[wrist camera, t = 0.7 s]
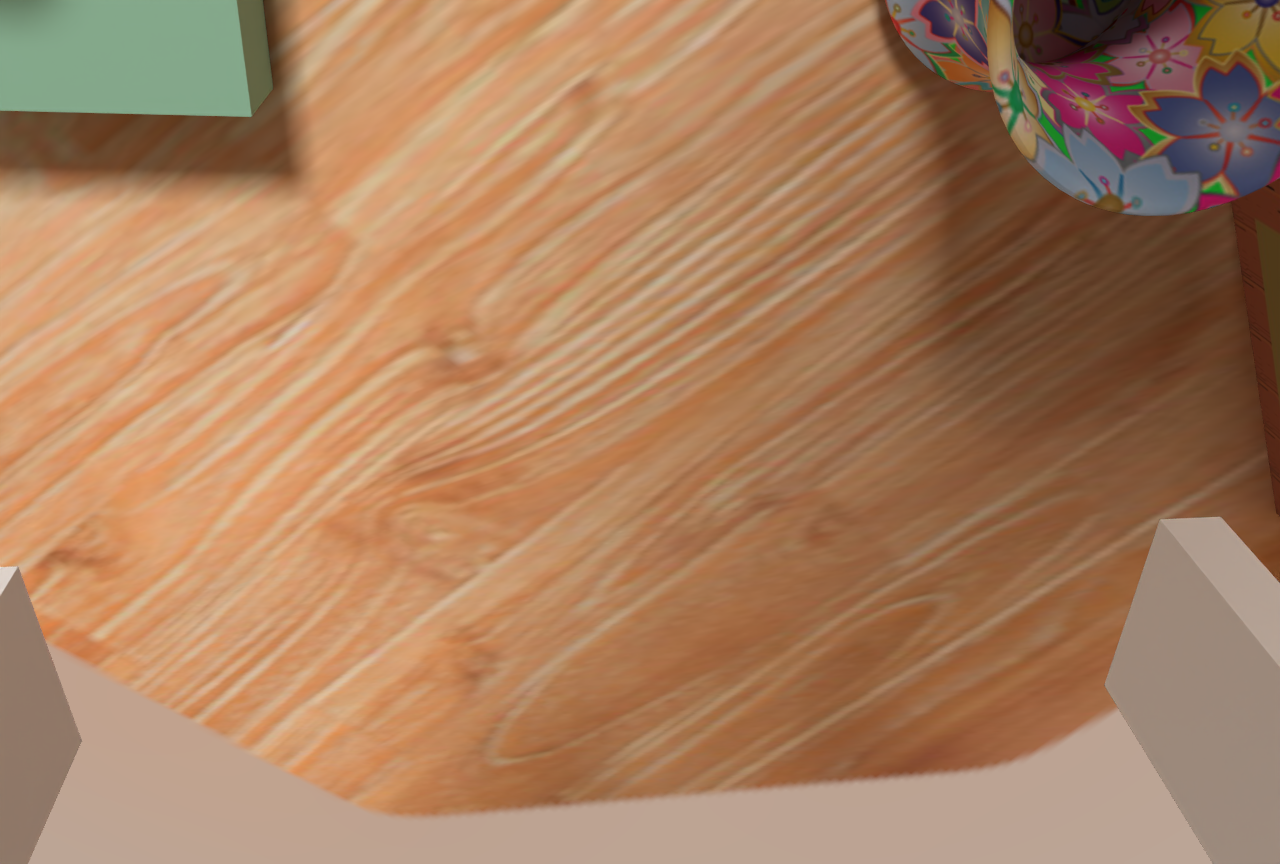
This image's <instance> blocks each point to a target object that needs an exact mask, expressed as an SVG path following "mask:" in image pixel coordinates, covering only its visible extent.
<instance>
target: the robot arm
mask: <svg viewBox="0 0 1280 864" xmlns="http://www.w3.org/2000/svg"><path fill="white" fill-rule="evenodd" d="M1104 686H1105V687H1106V689H1107V691H1108V692H1109V694H1110V696H1111V697H1112V699H1113V700H1114V702H1115V704H1116V705H1117V707H1118V709H1119V710H1120V712H1121V713H1122V715H1123V717H1124V719H1125V720H1126V722H1127V723H1128V725H1129V727H1130V728H1131V730H1132V732H1133V733H1134V735H1135V736H1136V738H1137V740H1138V741H1139V743H1140V745H1141V746H1142V748H1143V750H1144V751H1145V753H1146V755H1147V756H1148V758H1149V760H1150V761H1151V763H1152V764H1153V766H1154V768H1155V769H1156V771H1157V773H1158V774H1159V776H1160V777H1161V779H1162V781H1163V782H1164V784H1165V786H1166V787H1167V789H1168V790H1169V792H1170V794H1171V795H1172V797H1173V799H1174V801H1175V802H1176V804H1177V805H1178V807H1179V809H1180V810H1181V812H1182V814H1183V815H1184V817H1185V819H1186V820H1187V822H1188V823H1189V825H1190V827H1191V828H1192V830H1193V832H1194V833H1195V835H1196V837H1197V838H1198V840H1199V842H1200V843H1201V845H1202V846H1203V848H1204V850H1205V851H1206V853H1207V855H1208V856H1209V858H1210V859H1211V861H1212V863H1213V864H1280V583H1279V582H1278V581H1277V579H1276V578H1275V577H1274V576H1273V575H1272V574H1271V573H1270V572H1269V570H1268V569H1267V568H1266V567H1265V566H1264V565H1263V564H1262V563H1261V561H1260V560H1259V559H1258V558H1257V557H1256V556H1255V555H1254V554H1253V552H1252V551H1251V550H1250V549H1249V548H1248V547H1247V546H1246V545H1245V543H1244V542H1243V541H1242V540H1241V539H1240V538H1239V537H1238V536H1237V534H1236V533H1235V532H1234V531H1233V530H1232V529H1231V528H1230V527H1229V525H1228V524H1227V523H1226V522H1225V521H1224V520H1223V519H1222V518H1221V517H1202V518H1178V519H1160V521H1159V524H1158V527H1157V530H1156V532H1155V535H1154V538H1153V541H1152V544H1151V547H1150V550H1149V553H1148V556H1147V559H1146V562H1145V565H1144V568H1143V571H1142V574H1141V577H1140V580H1139V583H1138V586H1137V589H1136V592H1135V595H1134V598H1133V601H1132V604H1131V607H1130V610H1129V613H1128V616H1127V619H1126V622H1125V625H1124V628H1123V631H1122V634H1121V637H1120V640H1119V643H1118V646H1117V649H1116V652H1115V655H1114V658H1113V661H1112V664H1111V667H1110V670H1109V673H1108V676H1107V679H1106V682H1105V685H1104ZM81 741H82V740H81V737H80V735H79V732H78V729H77V726H76V724H75V721H74V718H73V715H72V713H71V710H70V707H69V705H68V702H67V699H66V696H65V694H64V691H63V688H62V685H61V682H60V680H59V677H58V674H57V672H56V669H55V666H54V664H53V661H52V658H51V655H50V652H49V650H48V647H47V644H46V641H45V639H44V636H43V633H42V630H41V628H40V625H39V622H38V619H37V617H36V614H35V611H34V608H33V606H32V603H31V600H30V598H29V595H28V592H27V589H26V587H25V584H24V581H23V578H22V576H21V573H20V570H19V567H18V566H17V567H0V864H28V862H29V860H30V857H31V855H32V853H33V851H34V848H35V846H36V844H37V842H38V839H39V837H40V835H41V832H42V830H43V828H44V826H45V823H46V821H47V819H48V817H49V814H50V812H51V810H52V807H53V805H54V803H55V801H56V798H57V796H58V794H59V792H60V789H61V787H62V785H63V782H64V780H65V778H66V776H67V773H68V771H69V769H70V767H71V764H72V762H73V760H74V757H75V755H76V753H77V750H78V748H79V746H80V744H81Z"/></svg>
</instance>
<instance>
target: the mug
mask: <svg viewBox="0 0 1280 864" xmlns="http://www.w3.org/2000/svg"><path fill="white" fill-rule="evenodd" d="M885 2H886V6H887V9H888V11H889V14H890V17H891V19H892V22H893V24H894V26H895V28H896V30H897V32H898V34H899V35H900V37H901V38H902V40H903V41H904V43H905V44H906V46H907V47H908V48H909V49H910V51H911V52H912V53H913V54H914V55H915V56H916V57H917V58H918V59H919V60H920V61H921V62H922V63H923V64H924V65H925V66H926V67H928V68H929V69H930V70H932V71H933V72H934V73H936V74H938V75H939V76H941V77H943V78H944V79H946V80H948V81H951V82H953V83H955V84H957V85H960V86H963V87H966V88H970V89H975V90H979V91H987V92H994V97H995V100H996V103H997V106H998V109H999V112H1000V115H1001V118H1002V120H1003V122H1004V124H1005V126H1006V128H1007V130H1008V133H1009V135H1010V136H1011V138H1012V139H1013V141H1014V143H1015V144H1016V146H1017V148H1018V149H1019V151H1020V152H1021V153H1022V154H1023V156H1024V157H1025V158H1026V159H1027V161H1028V162H1029V163H1030V164H1031V165H1032V166H1033V167H1034V168H1035V169H1036V170H1037V171H1038V172H1039V173H1040V174H1041V175H1042V176H1043V177H1044V178H1045V179H1046V180H1048V181H1049V182H1050V183H1052V184H1053V185H1054V186H1056V187H1057V188H1058V189H1060V190H1061V191H1063V192H1065V193H1066V194H1068V195H1070V196H1072V197H1073V198H1075V199H1077V200H1079V201H1082V202H1084V203H1086V204H1089V205H1091V206H1094V207H1097V208H1100V209H1104V210H1107V211H1111V212H1116V213H1122V214H1127V215H1140V216H1166V215H1176V214H1184V213H1190V212H1195V211H1200V210H1204V209H1209V208H1212V207H1215V206H1219V205H1222V204H1225V203H1228V202H1231V201H1233V200H1236V199H1238V198H1241V197H1243V196H1246V195H1248V194H1250V193H1252V192H1254V191H1256V190H1258V189H1261V188H1263V187H1265V186H1267V185H1268V184H1270V183H1272V182H1274V181H1275V180H1277V179H1279V178H1280V0H885Z"/></svg>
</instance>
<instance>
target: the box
mask: <svg viewBox="0 0 1280 864" xmlns="http://www.w3.org/2000/svg"><path fill="white" fill-rule="evenodd" d="M1231 202H1232V209H1233V216H1234V223H1235V230H1236V237H1237V244H1238V250H1239V257H1240V264H1241V271H1242V278H1243V285H1244V292H1245V299H1246V306H1247V313H1248V320H1249V327H1250V333H1251V340H1252V347H1253V354H1254V361H1255V368H1256V375H1257V382H1258V389H1259V396H1260V403H1261V409H1262V416H1263V423H1264V430H1265V437H1266V444H1267V451H1268V458H1269V465H1270V472H1271V479H1272V485H1273V492H1274V499H1275V506H1276V513H1277V514H1278V515H1279V516H1280V178H1279V179H1277V180H1275V181H1274V182H1272V183H1270V184H1268V185H1267V186H1265V187H1263V188H1261V189H1258V190H1256V191H1254V192H1252V193H1250V194H1248V195H1246V196H1243V197H1241V198H1238V199H1236V200H1233V201H1231Z"/></svg>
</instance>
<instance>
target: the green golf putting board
mask: <svg viewBox="0 0 1280 864" xmlns="http://www.w3.org/2000/svg"><path fill="white" fill-rule="evenodd" d="M272 90H273V82H272V73H271V65H270V56H269V48H268V39H267V31H266V22H265V14H264V5H263V0H0V111H38V112H78V113H118V114H158V115H198V116H238V117H252V116H253V114H254V113H255V112H256V111H257V109H258V108H259V107H260V105H261V104H262V103H263V101H264V100H265V99H266V97H267V96H268V95H269V94H270V92H271V91H272Z"/></svg>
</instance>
